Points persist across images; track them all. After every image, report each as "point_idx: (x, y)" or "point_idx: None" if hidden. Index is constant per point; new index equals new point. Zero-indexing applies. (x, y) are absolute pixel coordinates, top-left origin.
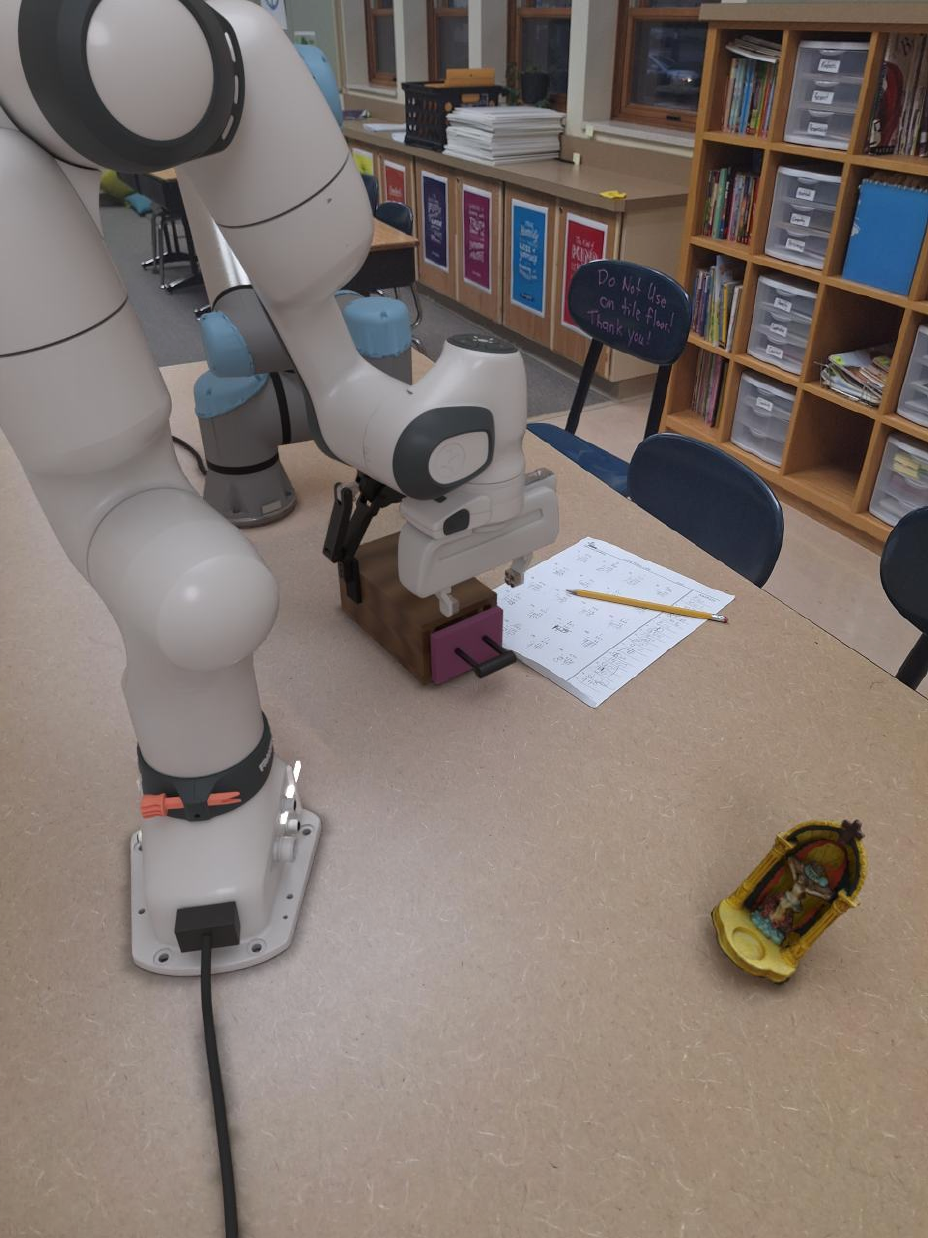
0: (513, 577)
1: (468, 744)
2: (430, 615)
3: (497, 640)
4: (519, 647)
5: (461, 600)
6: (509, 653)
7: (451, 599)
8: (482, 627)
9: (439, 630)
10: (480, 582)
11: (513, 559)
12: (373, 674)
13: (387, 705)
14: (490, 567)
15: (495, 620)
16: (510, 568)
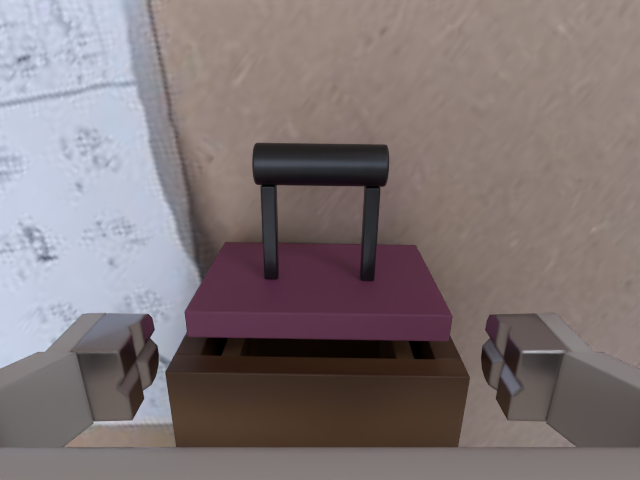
0: (123, 354)
1: (482, 45)
2: (413, 400)
3: (229, 262)
4: (164, 249)
5: (286, 405)
6: (269, 164)
7: (540, 383)
8: (273, 295)
9: (414, 340)
10: (178, 439)
11: (71, 450)
12: (474, 352)
13: (520, 264)
14: (343, 466)
15: (223, 296)
16: (95, 417)
